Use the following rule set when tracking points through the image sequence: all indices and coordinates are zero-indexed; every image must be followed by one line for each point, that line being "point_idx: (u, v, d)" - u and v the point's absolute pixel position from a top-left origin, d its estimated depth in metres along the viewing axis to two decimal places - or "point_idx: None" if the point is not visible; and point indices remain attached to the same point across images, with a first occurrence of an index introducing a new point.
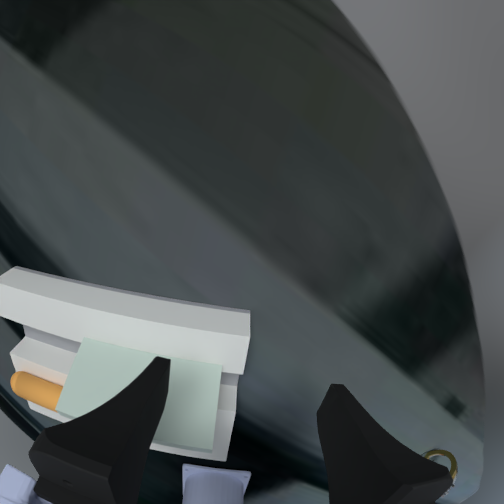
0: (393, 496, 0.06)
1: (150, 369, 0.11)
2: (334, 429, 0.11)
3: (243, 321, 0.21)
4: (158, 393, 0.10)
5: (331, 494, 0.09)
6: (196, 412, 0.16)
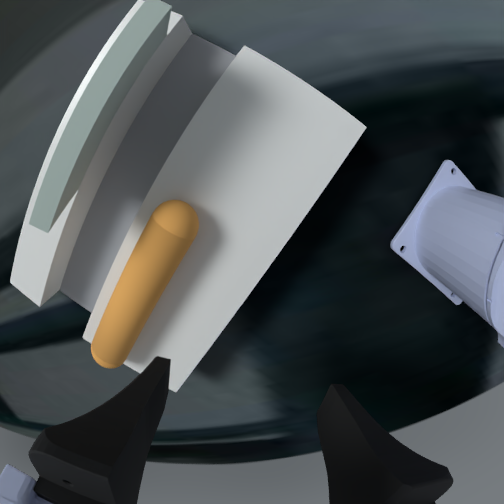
0: (393, 496, 0.06)
1: (150, 369, 0.11)
2: (334, 430, 0.11)
3: None
4: (158, 393, 0.10)
5: (331, 494, 0.09)
6: None
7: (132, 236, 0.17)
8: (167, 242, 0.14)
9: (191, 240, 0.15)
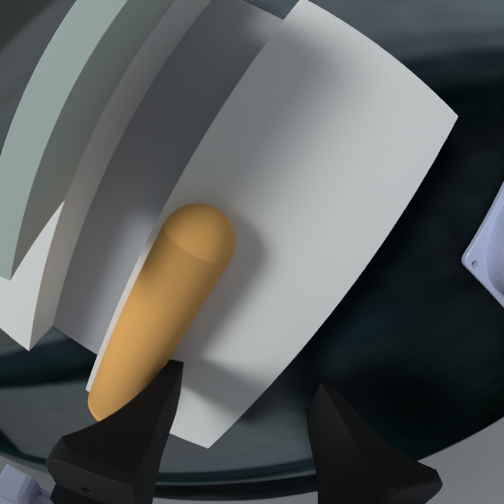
0: (379, 499, 0.06)
1: (164, 372, 0.11)
2: (323, 429, 0.11)
3: None
4: (172, 396, 0.10)
5: (320, 495, 0.09)
6: None
7: None
8: (177, 263, 0.09)
9: (218, 266, 0.09)
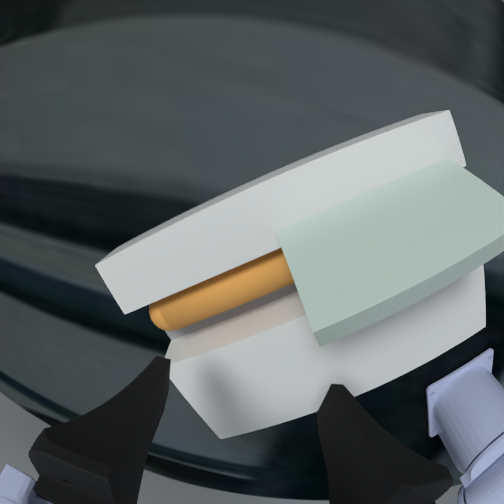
0: (393, 496, 0.06)
1: (150, 369, 0.11)
2: (334, 430, 0.11)
3: (427, 114, 0.14)
4: (158, 393, 0.10)
5: (331, 494, 0.09)
6: (478, 199, 0.10)
7: (303, 321, 0.16)
8: None
9: None
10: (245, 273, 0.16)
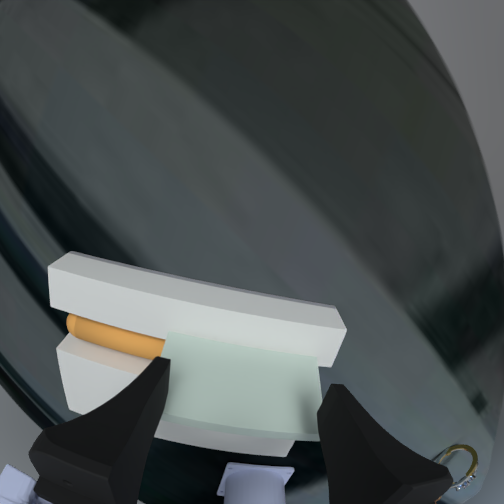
0: (393, 496, 0.06)
1: (150, 369, 0.11)
2: (334, 430, 0.11)
3: (334, 315, 0.21)
4: (158, 393, 0.10)
5: (331, 494, 0.09)
6: (303, 400, 0.17)
7: None
8: None
9: None
10: (137, 348, 0.21)
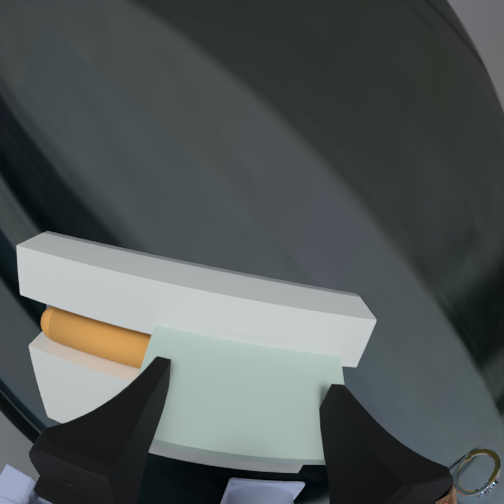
0: (393, 496, 0.06)
1: (150, 369, 0.11)
2: (334, 430, 0.11)
3: (359, 304, 0.17)
4: (158, 393, 0.10)
5: (332, 495, 0.09)
6: None
7: None
8: None
9: None
10: (120, 361, 0.17)
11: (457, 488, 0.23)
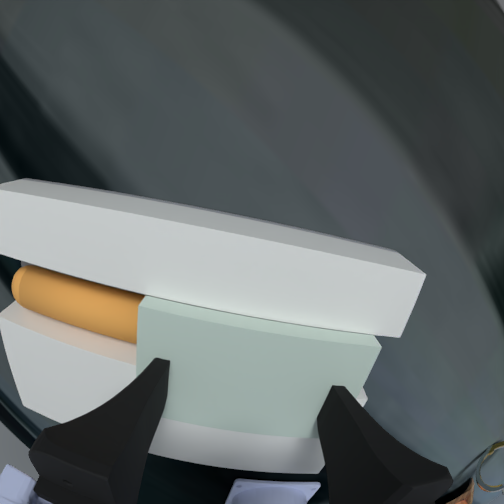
0: (392, 496, 0.06)
1: (150, 369, 0.11)
2: (334, 430, 0.11)
3: (401, 259, 0.14)
4: (158, 393, 0.10)
5: (331, 494, 0.09)
6: None
7: (131, 370, 0.13)
8: None
9: None
10: (102, 329, 0.13)
11: (480, 484, 0.20)
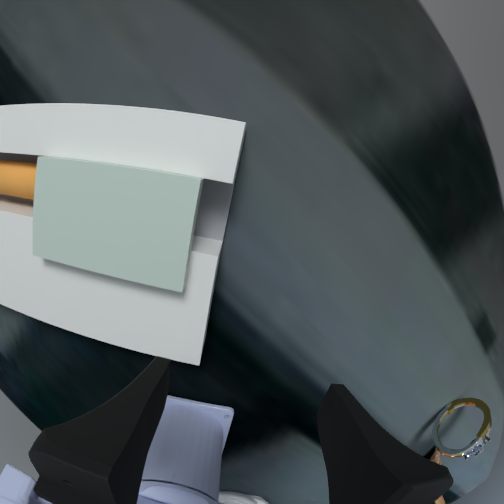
0: (392, 496, 0.06)
1: (150, 369, 0.11)
2: (334, 430, 0.11)
3: None
4: (158, 393, 0.10)
5: (331, 494, 0.09)
6: (165, 247, 0.15)
7: None
8: None
9: None
10: (24, 181, 0.16)
11: (437, 446, 0.23)
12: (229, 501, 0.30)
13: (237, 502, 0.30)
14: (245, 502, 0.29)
